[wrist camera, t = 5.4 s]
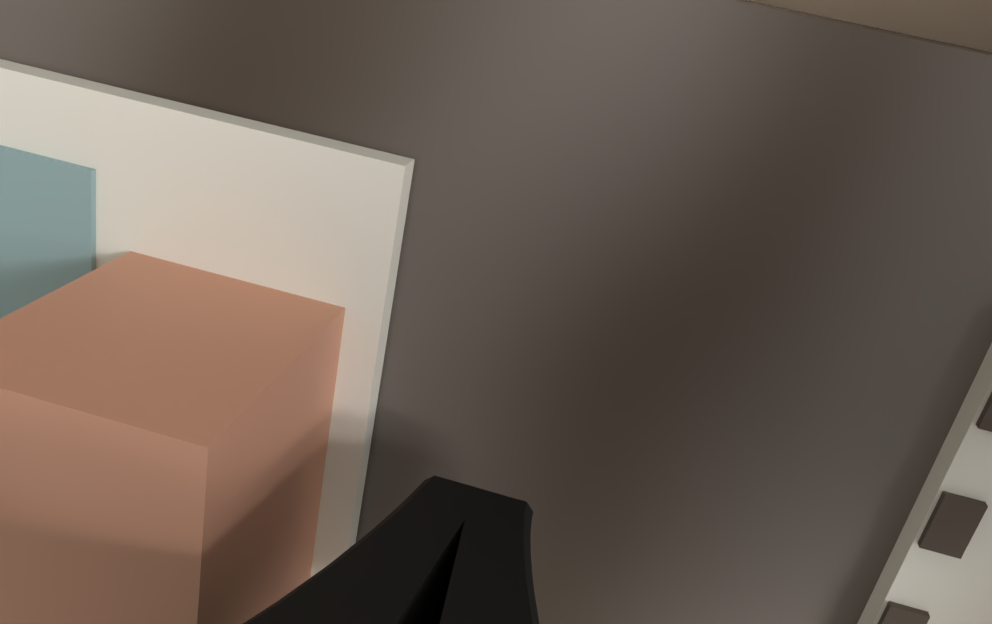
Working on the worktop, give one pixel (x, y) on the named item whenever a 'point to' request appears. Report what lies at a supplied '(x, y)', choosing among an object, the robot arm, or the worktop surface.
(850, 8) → the worktop surface
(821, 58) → the ticket board
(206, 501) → the stub
